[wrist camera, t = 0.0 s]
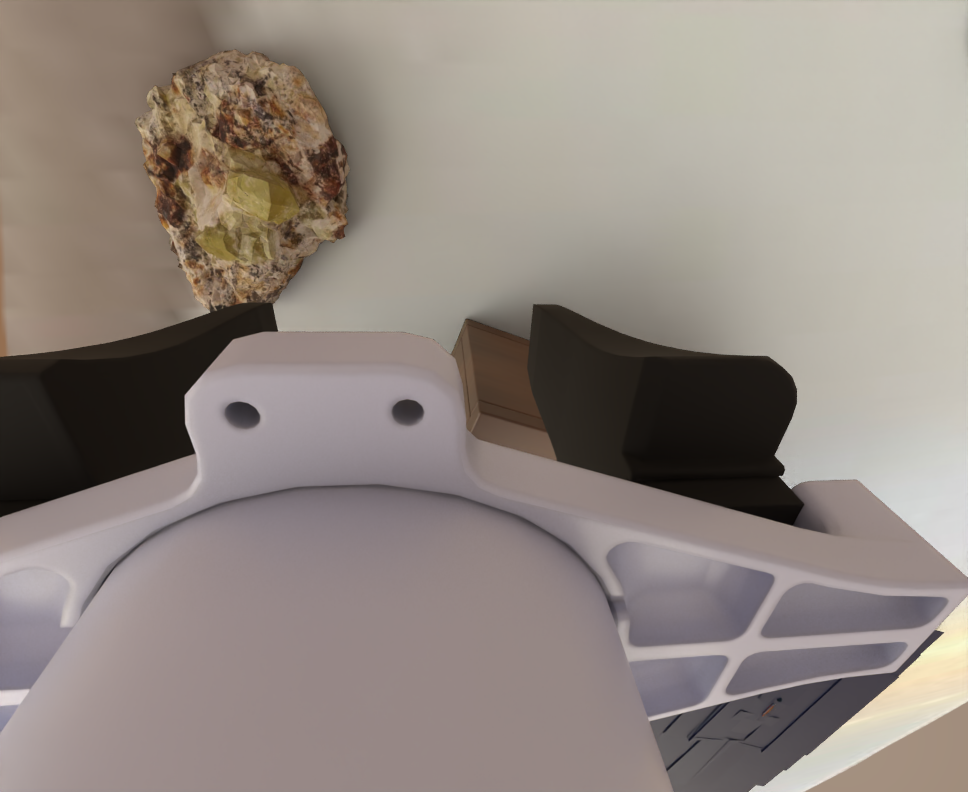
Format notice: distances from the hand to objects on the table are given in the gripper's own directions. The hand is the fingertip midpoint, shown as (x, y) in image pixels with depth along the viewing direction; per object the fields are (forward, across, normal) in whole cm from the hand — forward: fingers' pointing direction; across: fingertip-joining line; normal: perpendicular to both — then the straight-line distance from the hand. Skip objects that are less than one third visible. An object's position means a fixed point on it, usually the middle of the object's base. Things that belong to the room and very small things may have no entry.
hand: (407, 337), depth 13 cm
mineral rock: (+10, +7, -2) cm, 13 cm away
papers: (+10, -32, +44) cm, 55 cm away
